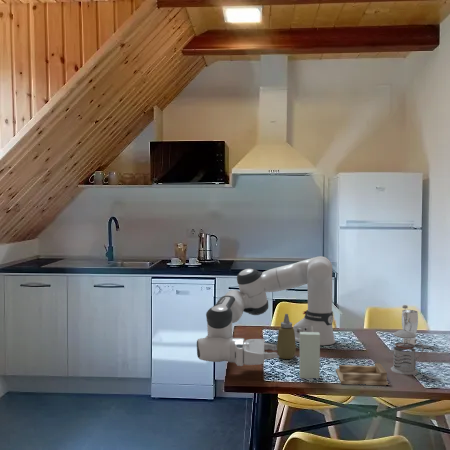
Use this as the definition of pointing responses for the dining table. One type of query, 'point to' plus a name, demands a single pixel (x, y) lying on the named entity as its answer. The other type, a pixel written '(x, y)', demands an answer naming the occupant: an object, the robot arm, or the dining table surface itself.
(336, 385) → the dining table surface
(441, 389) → the dining table surface
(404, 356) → the grey white tiered vessel
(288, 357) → the squeeze bottle
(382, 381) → the wooden tray
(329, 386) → the dining table surface
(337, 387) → the dining table surface
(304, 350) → the tall white upright block
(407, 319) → the beer glass
